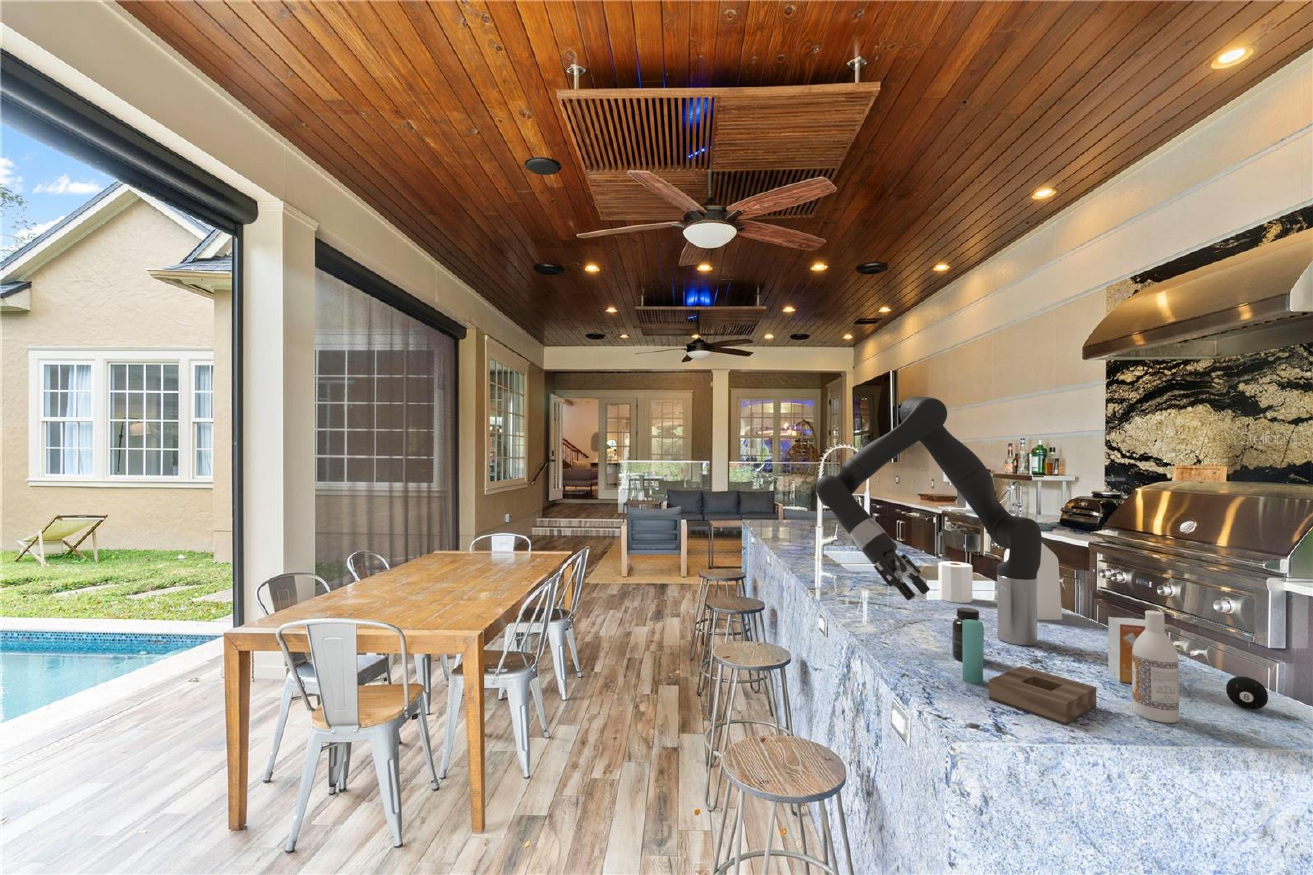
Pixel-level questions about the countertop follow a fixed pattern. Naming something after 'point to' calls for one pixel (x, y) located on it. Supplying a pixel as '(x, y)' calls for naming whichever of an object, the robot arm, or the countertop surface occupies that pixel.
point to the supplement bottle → (958, 630)
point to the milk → (1047, 586)
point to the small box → (1122, 646)
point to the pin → (972, 651)
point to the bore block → (1043, 694)
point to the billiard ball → (1247, 692)
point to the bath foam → (1155, 672)
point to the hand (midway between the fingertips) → (919, 595)
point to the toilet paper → (955, 582)
